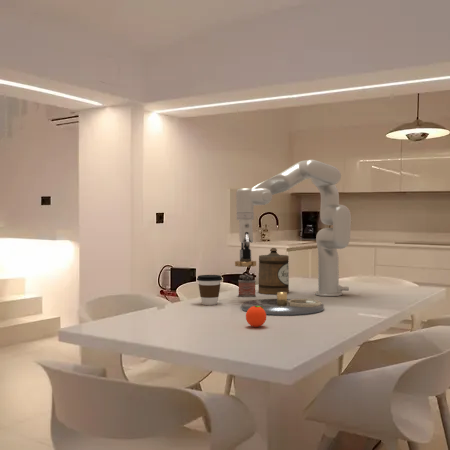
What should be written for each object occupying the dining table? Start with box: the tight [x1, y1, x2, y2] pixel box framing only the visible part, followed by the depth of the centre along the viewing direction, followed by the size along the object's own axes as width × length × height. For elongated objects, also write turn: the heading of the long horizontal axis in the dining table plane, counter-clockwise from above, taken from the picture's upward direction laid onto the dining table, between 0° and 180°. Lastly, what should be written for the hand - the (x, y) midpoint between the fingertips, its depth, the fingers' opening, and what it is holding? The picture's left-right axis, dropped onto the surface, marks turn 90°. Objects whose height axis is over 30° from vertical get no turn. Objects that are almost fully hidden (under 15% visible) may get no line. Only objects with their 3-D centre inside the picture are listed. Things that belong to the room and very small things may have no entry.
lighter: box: [237, 274, 257, 298], centre depth 254 cm, size 8×3×10 cm, turn 84°
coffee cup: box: [196, 274, 223, 306], centre depth 232 cm, size 11×11×12 cm
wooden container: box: [258, 247, 290, 296], centre depth 268 cm, size 15×15×22 cm
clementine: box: [245, 306, 267, 328], centre depth 183 cm, size 8×7×7 cm
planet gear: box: [234, 249, 257, 268], centre depth 238 cm, size 9×9×7 cm
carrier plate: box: [240, 292, 325, 317], centre depth 219 cm, size 33×33×6 cm
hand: (245, 258), depth 238 cm, fingers closed on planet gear, 5 cm apart
